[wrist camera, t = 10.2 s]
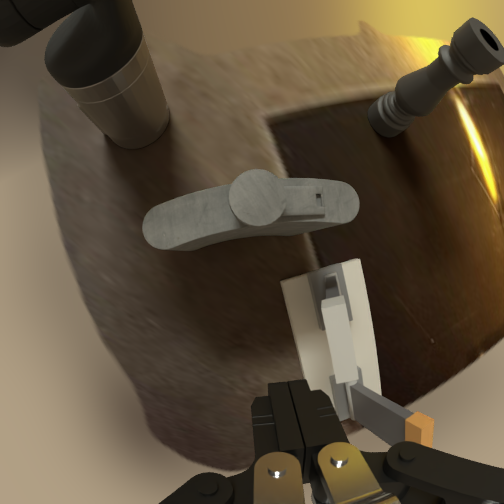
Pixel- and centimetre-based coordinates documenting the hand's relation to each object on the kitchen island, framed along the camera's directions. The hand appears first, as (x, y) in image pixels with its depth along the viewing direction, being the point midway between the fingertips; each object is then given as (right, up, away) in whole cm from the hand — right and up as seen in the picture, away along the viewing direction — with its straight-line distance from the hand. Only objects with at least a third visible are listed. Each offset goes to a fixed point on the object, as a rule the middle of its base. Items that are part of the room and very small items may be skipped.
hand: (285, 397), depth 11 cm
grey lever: (+9, 0, +24) cm, 26 cm away
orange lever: (+13, -14, +25) cm, 31 cm away
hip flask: (-3, +9, +27) cm, 29 cm away
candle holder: (+19, +27, +29) cm, 44 cm away
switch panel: (+10, -7, +28) cm, 31 cm away
